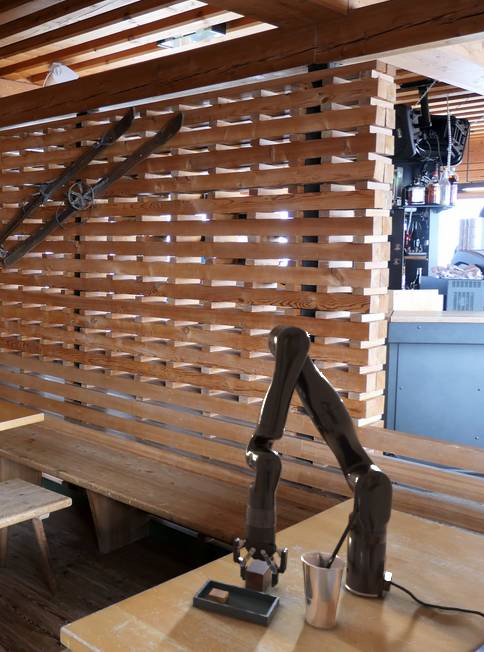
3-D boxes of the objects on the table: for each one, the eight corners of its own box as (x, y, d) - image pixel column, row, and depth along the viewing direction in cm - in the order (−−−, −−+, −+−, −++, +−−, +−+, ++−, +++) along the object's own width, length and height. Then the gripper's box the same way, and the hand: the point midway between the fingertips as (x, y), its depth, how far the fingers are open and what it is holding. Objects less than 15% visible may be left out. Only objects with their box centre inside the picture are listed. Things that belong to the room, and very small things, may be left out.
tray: (279, 605, 185) (279, 596, 185) (267, 626, 175) (267, 617, 175) (208, 587, 195) (208, 578, 195) (192, 606, 185) (193, 597, 185)
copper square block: (228, 598, 188) (229, 592, 188) (224, 604, 185) (224, 598, 185) (213, 594, 190) (213, 588, 190) (208, 600, 187) (208, 594, 187)
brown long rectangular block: (271, 582, 199) (271, 562, 198) (262, 595, 191) (263, 574, 191) (254, 577, 201) (254, 558, 201) (245, 590, 193) (245, 570, 193)
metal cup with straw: (354, 637, 171) (359, 510, 168) (302, 631, 173) (307, 506, 171) (343, 614, 181) (348, 495, 179) (294, 609, 183) (299, 491, 181)
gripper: (292, 522, 194) (290, 584, 195) (237, 512, 202) (235, 571, 203) (286, 532, 188) (283, 595, 189) (229, 520, 195) (227, 581, 196)
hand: (258, 582), depth 196 cm, fingers open, 7 cm apart
